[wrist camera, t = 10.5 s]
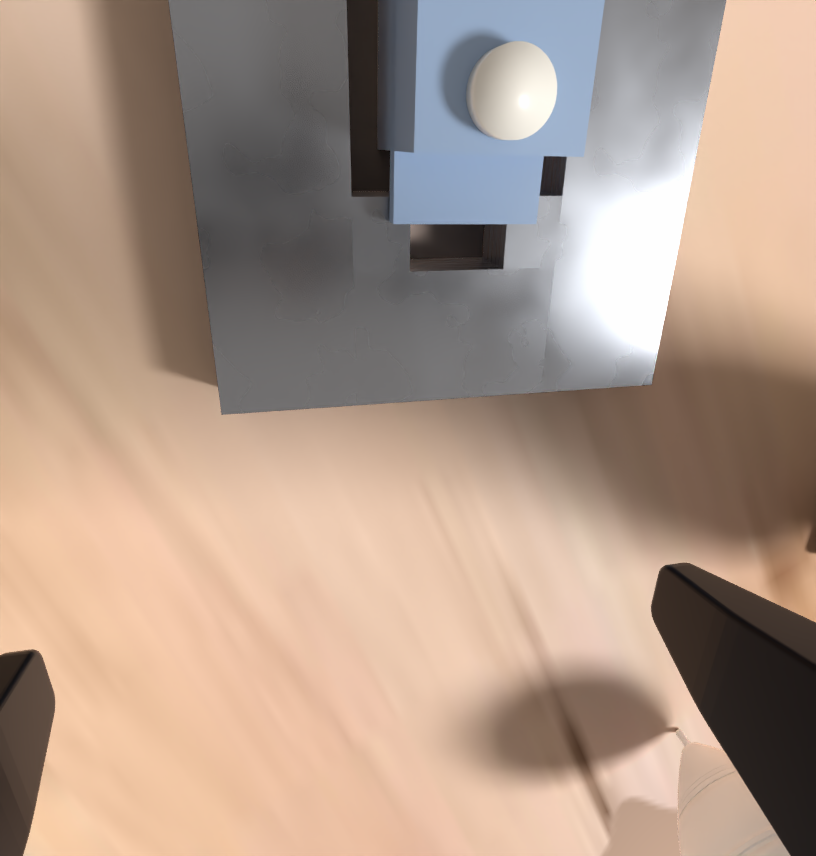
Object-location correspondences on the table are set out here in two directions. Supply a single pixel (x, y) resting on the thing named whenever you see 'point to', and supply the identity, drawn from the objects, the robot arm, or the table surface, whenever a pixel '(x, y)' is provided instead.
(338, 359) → the chassis plate
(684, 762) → the spinning top
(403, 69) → the servo
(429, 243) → the table surface
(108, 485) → the table surface
